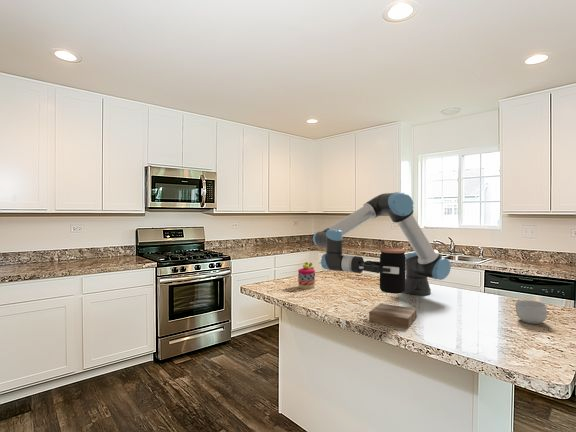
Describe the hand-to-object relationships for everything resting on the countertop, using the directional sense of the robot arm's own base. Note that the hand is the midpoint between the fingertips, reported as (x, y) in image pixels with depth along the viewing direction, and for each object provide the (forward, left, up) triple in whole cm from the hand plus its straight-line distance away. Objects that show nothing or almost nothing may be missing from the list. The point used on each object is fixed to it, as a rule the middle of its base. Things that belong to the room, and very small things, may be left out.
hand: (402, 268), depth 142 cm
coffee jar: (+2, -4, -10) cm, 11 cm away
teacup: (-49, +25, -22) cm, 59 cm away
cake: (+4, -73, -22) cm, 77 cm away
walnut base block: (+2, -3, -22) cm, 23 cm away
